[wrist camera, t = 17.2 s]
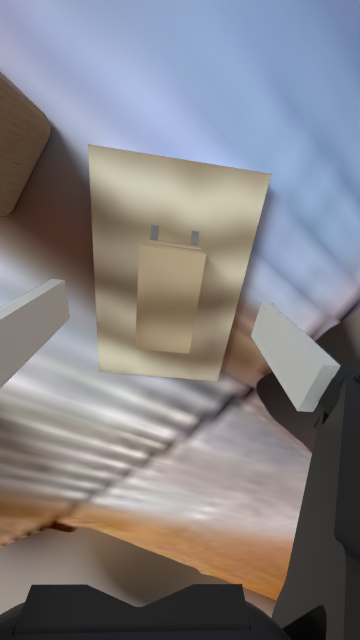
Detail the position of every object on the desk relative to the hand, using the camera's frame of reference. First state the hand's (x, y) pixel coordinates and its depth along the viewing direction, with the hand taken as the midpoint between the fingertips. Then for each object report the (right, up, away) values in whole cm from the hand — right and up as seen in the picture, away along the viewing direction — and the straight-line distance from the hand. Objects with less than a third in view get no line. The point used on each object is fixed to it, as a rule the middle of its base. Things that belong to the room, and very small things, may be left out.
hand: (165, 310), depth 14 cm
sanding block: (0, +3, +9) cm, 9 cm away
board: (0, +3, +11) cm, 11 cm away
